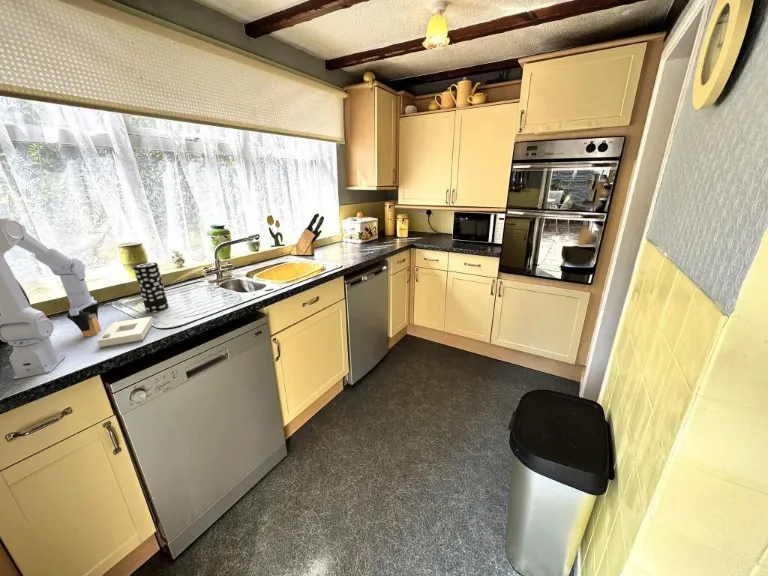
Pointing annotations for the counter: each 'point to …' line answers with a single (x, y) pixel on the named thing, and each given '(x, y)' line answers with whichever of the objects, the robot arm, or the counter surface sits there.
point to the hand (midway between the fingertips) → (90, 326)
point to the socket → (125, 332)
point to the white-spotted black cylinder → (151, 287)
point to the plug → (92, 326)
